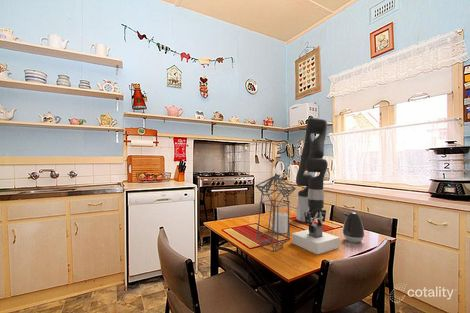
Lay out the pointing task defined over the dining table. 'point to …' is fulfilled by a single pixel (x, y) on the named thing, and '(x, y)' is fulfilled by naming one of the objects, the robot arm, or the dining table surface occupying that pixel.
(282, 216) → the mug
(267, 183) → the geometric lantern
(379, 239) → the dining table surface
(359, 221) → the dark grey rounded cone
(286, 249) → the dining table surface
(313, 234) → the plug
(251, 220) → the dining table surface
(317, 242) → the socket block
